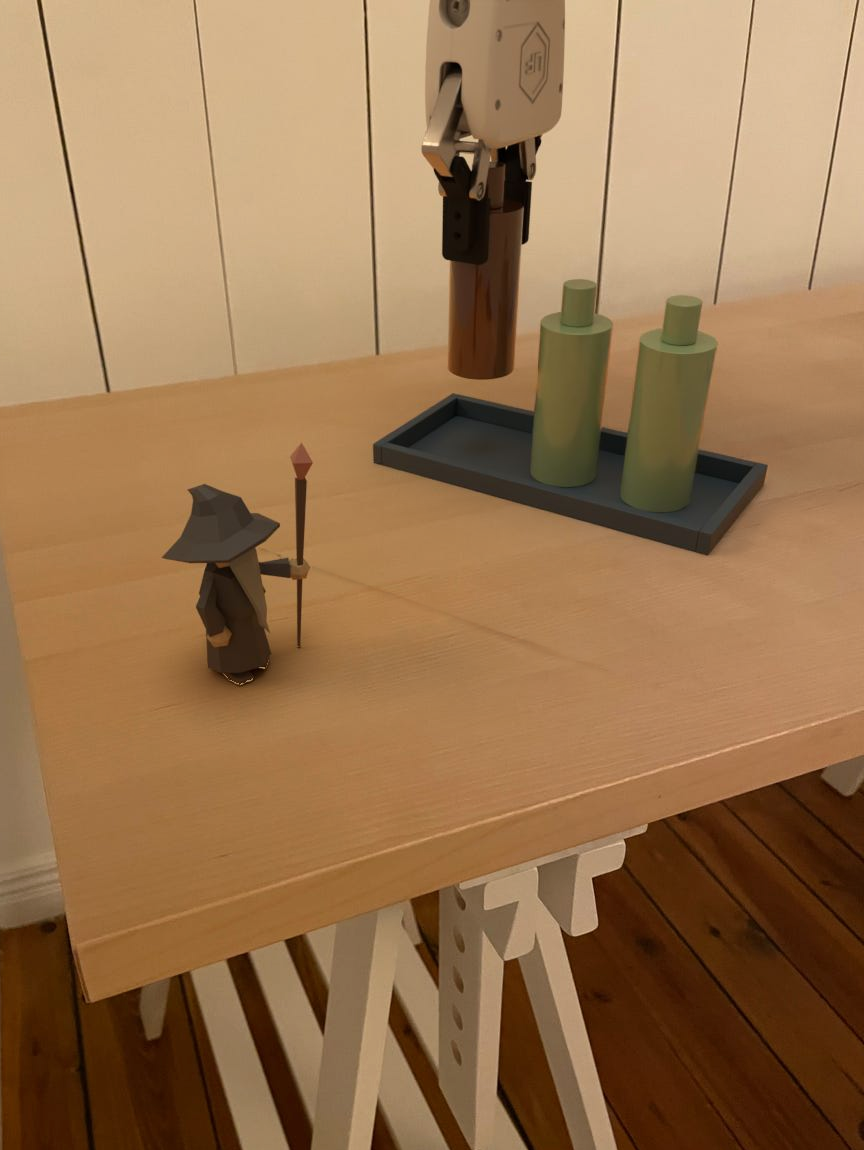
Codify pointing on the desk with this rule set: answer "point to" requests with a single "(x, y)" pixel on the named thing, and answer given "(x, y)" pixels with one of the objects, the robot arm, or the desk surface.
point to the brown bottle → (488, 293)
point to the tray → (502, 469)
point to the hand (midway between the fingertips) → (486, 248)
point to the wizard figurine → (239, 572)
